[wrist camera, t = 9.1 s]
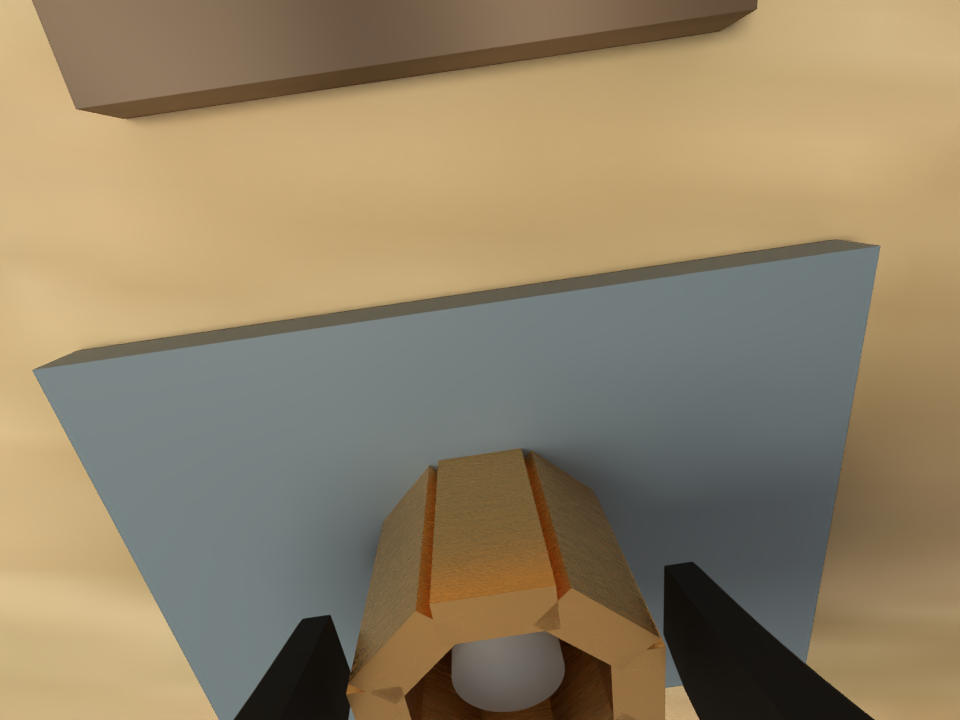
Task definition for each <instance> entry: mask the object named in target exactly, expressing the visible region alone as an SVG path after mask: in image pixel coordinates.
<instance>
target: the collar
mask: <svg viewBox="0 0 960 720" xmlns="http://www.w3.org/2000/svg"><path fill="white" fill-rule="evenodd" d="M542 631H546V632H548V633H550V634H552V635H554V636H556V637H558V638H559V643H560V647H561V651H562V656H563V660H564V665H565V673H564V677H563V680H562V682H561V684H560V686H559V687H558V689H557V690H556V691H555V692H554V693H553V694H552V695H551V696H550V697H548V698H547V699H546V700H544V701H543V702H541V703H539V704H537V705H535V706H532V707H530V708H526V709H523V710H518V711H512V712H493V711H487V710H483V709H480V708H477V707H475V706H473V705H471V704H469V703H467V702H466V701H464V700H463V699H462V698H461V697H460V696H459V695H458V693H457V692H456V690H455V689H454V686H453V683H452V647H453V646H454V645H455V644H461V643H468V642H474V641H481V640H488V639H495V638H501V637H508V636H515V635H522V634H528V633H535V632H542ZM665 675H666V646H665V644H664V642H663V640H662V638H661V635H660V633H659V631H658V629H657V627H656V625H655V622H654V620H653V618H652V616H651V614H650V611H649V609H648V607H647V605H646V603H645V601H644V598H643V596H642V594H641V592H640V590H639V588H638V585H637V583H636V581H635V579H634V577H633V574H632V572H631V570H630V568H629V566H628V564H627V561H626V559H625V557H624V555H623V553H622V550H621V548H620V546H619V544H618V542H617V540H616V537H615V535H614V533H613V531H612V529H611V527H610V524H609V522H608V520H607V518H606V516H605V513H604V511H603V509H602V507H601V505H600V503H599V500H598V498H597V497H596V496H595V494H594V492H593V490H592V489H590V488H589V487H587V486H586V485H584V484H583V483H581V482H580V481H578V480H577V479H575V478H573V477H572V476H570V475H569V474H567V473H566V472H564V471H563V470H561V469H560V468H558V467H556V466H555V465H553V464H552V463H550V462H549V461H547V460H546V459H544V458H543V457H541V456H540V455H538V454H536V453H535V452H533V451H532V450H531V451H530V452H529V453H528V455H527V456H526V457H525V458H523V454H522V450H521V448H519V449H512V450H506V451H499V452H492V453H485V454H479V455H472V456H465V457H459V458H452V459H445V460H438V470H436V469H434V468H433V467H431V466H428V467H427V469H426V470H425V471H424V472H423V473H422V475H421V476H420V477H419V478H418V480H417V481H416V482H415V483H414V484H413V486H412V487H411V488H410V489H409V490H408V492H407V493H406V494H405V495H404V497H403V498H402V499H401V500H400V501H399V503H398V504H397V505H396V506H395V508H394V509H393V510H392V511H391V512H390V514H389V515H388V516H387V517H386V518H385V520H384V521H383V525H382V529H381V534H380V539H379V543H378V548H377V553H376V557H375V562H374V566H373V571H372V576H371V580H370V585H369V590H368V594H367V599H366V604H365V608H364V613H363V618H362V622H361V627H360V632H359V636H358V641H357V646H356V650H355V655H354V660H353V664H352V669H351V674H350V678H349V683H348V688H347V692H346V696H347V698H348V701H349V704H350V707H351V709H352V712H353V715H354V717H355V720H665Z"/></svg>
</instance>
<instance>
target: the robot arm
mask: <svg viewBox="0 0 960 720" xmlns="http://www.w3.org/2000/svg"><path fill="white" fill-rule="evenodd" d="M663 634H664V637H665V640H666V642H667V645H668V648H669V650H670V653H671V656H672V658H673V661H674V664H675V666H676V669H677V671H678V674H679V676H680V679H681V681H682V684H683V686H684V689H685V691H686V693H687V695H688V697H689V699H690V701H691V703H692V705H693V707H694V709H695V711H696V713H697V715H698V717H699V719H700V720H874V719H873V718H872V717H870V716H869V715H868V714H867V713H865V712H864V711H863V710H861V709H860V708H859V707H858V706H856V705H855V704H854V703H853V702H851V701H850V700H849V699H848V698H847V697H845V696H844V695H843V694H842V693H840V692H839V691H838V690H837V689H835V688H834V687H833V686H832V685H830V684H829V683H828V682H827V681H826V680H824V679H823V678H822V677H821V676H820V675H818V674H817V673H816V672H815V671H814V670H812V669H811V668H810V667H809V666H808V665H806V664H805V663H804V662H803V661H802V660H801V659H799V658H798V657H797V656H796V655H795V654H794V653H793V652H791V651H790V650H789V649H788V648H787V647H786V646H785V645H783V644H782V643H781V642H780V641H779V640H778V639H776V638H775V637H774V636H773V635H772V634H771V633H770V632H768V631H767V630H766V629H765V628H764V627H763V626H762V625H761V624H760V623H758V622H757V621H756V620H755V619H754V618H753V617H752V616H751V615H750V614H749V613H748V612H746V611H745V610H744V609H743V608H742V607H741V606H740V605H739V604H738V603H737V602H736V601H735V600H733V599H732V598H731V597H730V596H729V595H728V594H727V593H726V592H725V591H724V590H723V589H722V588H721V587H720V586H719V585H718V584H717V583H715V582H714V581H713V580H712V579H711V578H710V577H709V576H708V575H707V574H706V573H705V572H704V571H703V570H702V569H701V568H700V567H699V566H698V565H696V564H695V563H694V562H686V563H679V564H672V565H666V566H664V618H663ZM350 674H351V671H350V668H349V666H348V663H347V660H346V657H345V654H344V651H343V648H342V646H341V643H340V640H339V637H338V634H337V631H336V628H335V626H334V623H333V620H332V617H331V615H324V616H317V617H310V618H304V619H302V620H301V621H300V622H299V624H298V625H297V627H296V628H295V630H294V631H293V633H292V634H291V636H290V637H289V639H288V640H287V642H286V643H285V645H284V646H283V648H282V649H281V651H280V652H279V654H278V655H277V657H276V658H275V660H274V661H273V663H272V664H271V666H270V667H269V669H268V670H267V672H266V673H265V675H264V676H263V678H262V679H261V681H260V682H259V684H258V685H257V687H256V688H255V689H254V691H253V692H252V694H251V695H250V697H249V698H248V700H247V701H246V702H245V704H244V705H243V707H242V708H241V710H240V711H239V712H238V714H237V715H236V717H235V718H234V720H349V713H350V704H349V701H348V698H347V696H346V692H347V688H348V683H349V678H350Z"/></svg>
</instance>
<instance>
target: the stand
mask: <svg viewBox="0 0 960 720" xmlns="http://www.w3.org/2000/svg"><path fill="white" fill-rule="evenodd" d="M32 2H33V4H34V7H35V9H36V11H37V14H38V16H39V19H40V21H41V24H42V26H43V29H44V31H45V34H46V36H47V39H48V41H49V44H50V46H51V48H52V51H53V53H54V56H55V58H56V61H57V63H58V66H59V68H60V71H61V73H62V76H63V78H64V81H65V83H66V85H67V88H68V90H69V93H70V95H71V98H72V100H73V103H74V105H75V108H76V109H78V110H83V111H88V112H93V113H98V114H102V115H107V116H112V117H117V118H122V119H125V118H132V117H138V116H145V115H152V114H159V113H166V112H172V111H179V110H186V109H193V108H200V107H206V106H213V105H220V104H227V103H234V102H240V101H247V100H254V99H261V98H268V97H275V96H281V95H288V94H295V93H302V92H309V91H315V90H322V89H329V88H336V87H343V86H349V85H356V84H363V83H370V82H377V81H383V80H390V79H397V78H404V77H411V76H418V75H424V74H431V73H438V72H445V71H452V70H458V69H465V68H472V67H479V66H486V65H492V64H499V63H506V62H513V61H520V60H526V59H533V58H540V57H547V56H554V55H560V54H567V53H574V52H581V51H588V50H595V49H601V48H608V47H615V46H622V45H629V44H635V43H642V42H649V41H656V40H663V39H669V38H676V37H683V36H690V35H697V34H703V33H710V32H717V31H721V30H722V29H724V28H726V27H727V26H729V25H731V24H732V23H734V22H736V21H737V20H739V19H741V18H743V17H744V16H746V15H748V14H749V13H751V12H753V11H754V10H756V9H757V0H32Z"/></svg>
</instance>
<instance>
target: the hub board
mask: <svg viewBox="0 0 960 720" xmlns="http://www.w3.org/2000/svg"><path fill="white" fill-rule="evenodd" d="M879 251H880V246H879V245H871V244H864V243H857V242H849V241H842V240H830V241H823V242H816V243H809V244H802V245H796V246H789V247H782V248H775V249H768V250H762V251H755V252H748V253H741V254H734V255H727V256H721V257H714V258H707V259H700V260H693V261H687V262H680V263H673V264H666V265H659V266H652V267H646V268H639V269H632V270H625V271H618V272H612V273H605V274H598V275H591V276H584V277H577V278H571V279H564V280H557V281H550V282H543V283H537V284H530V285H523V286H516V287H509V288H502V289H496V290H489V291H482V292H475V293H468V294H462V295H455V296H448V297H441V298H434V299H427V300H421V301H414V302H407V303H400V304H393V305H387V306H380V307H373V308H366V309H359V310H352V311H346V312H339V313H332V314H325V315H318V316H312V317H305V318H298V319H291V320H284V321H277V322H271V323H264V324H257V325H250V326H243V327H237V328H230V329H223V330H216V331H209V332H202V333H196V334H189V335H182V336H175V337H168V338H162V339H155V340H148V341H141V342H134V343H127V344H121V345H114V346H107V347H100V348H93V349H87V350H80V351H75V352H73V353H71V354H68V355H66V356H64V357H62V358H59V359H57V360H55V361H52V362H50V363H48V364H45V365H43V366H41V367H38V368H36V369H34V370H32V371H33V373H34V374H35V376H36V378H37V380H38V382H39V384H40V386H41V388H42V389H43V391H44V393H45V395H46V397H47V399H48V401H49V402H50V404H51V406H52V408H53V410H54V412H55V414H56V416H57V417H58V419H59V421H60V423H61V425H62V427H63V429H64V431H65V432H66V434H67V436H68V438H69V440H70V442H71V444H72V446H73V447H74V449H75V451H76V453H77V455H78V457H79V459H80V460H81V462H82V464H83V466H84V468H85V470H86V472H87V474H88V475H89V477H90V479H91V481H92V483H93V485H94V487H95V489H96V490H97V492H98V494H99V496H100V498H101V500H102V502H103V503H104V505H105V507H106V509H107V511H108V513H109V515H110V517H111V518H112V520H113V522H114V524H115V526H116V528H117V530H118V532H119V533H120V535H121V537H122V539H123V541H124V543H125V545H126V547H127V548H128V550H129V552H130V554H131V556H132V558H133V560H134V561H135V563H136V565H137V567H138V569H139V571H140V573H141V575H142V576H143V578H144V580H145V582H146V584H147V586H148V588H149V590H150V591H151V593H152V595H153V597H154V599H155V601H156V603H157V605H158V606H159V608H160V610H161V612H162V614H163V616H164V618H165V619H166V621H167V623H168V625H169V627H170V629H171V631H172V633H173V634H174V636H175V638H176V640H177V642H178V644H179V646H180V648H181V649H182V651H183V653H184V655H185V657H186V659H187V661H188V662H189V664H190V666H191V668H192V670H193V672H194V674H195V676H196V677H197V679H198V681H199V683H200V685H201V687H202V689H203V691H204V692H205V694H206V696H207V698H208V700H209V702H210V704H211V706H212V707H213V709H214V711H215V713H216V715H217V717H218V719H219V720H234V718H235V717H236V715H237V714H238V712H239V711H240V710H241V708H242V707H243V705H244V704H245V702H246V701H247V700H248V698H249V697H250V695H251V694H252V692H253V691H254V689H255V688H256V687H257V685H258V684H259V682H260V681H261V679H262V678H263V676H264V675H265V673H266V672H267V670H268V669H269V667H270V666H271V664H272V663H273V661H274V660H275V658H276V657H277V655H278V654H279V652H280V651H281V649H282V648H283V646H284V645H285V643H286V642H287V640H288V639H289V637H290V636H291V634H292V633H293V631H294V630H295V628H296V627H297V625H298V624H299V622H300V621H301V620H302V619H304V618H310V617H317V616H324V615H331V617H332V620H333V623H334V626H335V628H336V631H337V634H338V637H339V640H340V643H341V646H342V648H343V651H344V654H345V657H346V660H347V663H348V666H349V668H350V671H351V669H352V664H353V660H354V655H355V650H356V646H357V641H358V636H359V632H360V627H361V622H362V618H363V613H364V608H365V604H366V599H367V594H368V590H369V585H370V580H371V576H372V571H373V566H374V562H375V557H376V553H377V548H378V543H379V539H380V534H381V529H382V525H383V521H384V520H385V518H386V517H387V516H388V515H389V514H390V512H391V511H392V510H393V509H394V508H395V506H396V505H397V504H398V503H399V501H400V500H401V499H402V498H403V497H404V495H405V494H406V493H407V492H408V490H409V489H410V488H411V487H412V486H413V484H414V483H415V482H416V481H417V480H418V478H419V477H420V476H421V475H422V473H423V472H424V471H425V470H426V469H427V467H428V466H431V467H433V468H434V469H436V470H438V460H445V459H452V458H459V457H465V456H472V455H479V454H485V453H492V452H499V451H506V450H512V449H519V448H521V450H522V454H523V458H525V457H526V456H527V455H528V453H529V452H530V451H531V450H532V451H533V452H535V453H536V454H538V455H540V456H541V457H543V458H544V459H546V460H547V461H549V462H550V463H552V464H553V465H555V466H556V467H558V468H560V469H561V470H563V471H564V472H566V473H567V474H569V475H570V476H572V477H573V478H575V479H577V480H578V481H580V482H581V483H583V484H584V485H586V486H587V487H589V488H590V489H592V490H593V492H594V494H595V496H596V497H597V498H598V500H599V503H600V505H601V507H602V509H603V511H604V513H605V516H606V518H607V520H608V522H609V524H610V527H611V529H612V531H613V533H614V535H615V537H616V540H617V542H618V544H619V546H620V548H621V550H622V553H623V555H624V557H625V559H626V561H627V564H628V566H629V568H630V570H631V572H632V574H633V577H634V579H635V581H636V583H637V585H638V588H639V590H640V592H641V594H642V596H643V598H644V601H645V603H646V605H647V607H648V609H649V611H650V614H651V616H652V618H653V620H654V622H655V625H656V627H657V629H658V631H659V633H660V635H661V638H662V640H663V642H664V644H665V646H666V675H665V688H668V687H674V686H681V685H683V684H682V681H681V679H680V676H679V674H678V671H677V669H676V666H675V664H674V661H673V658H672V656H671V653H670V650H669V648H668V645H667V642H666V640H665V637H664V634H663V618H664V566H666V565H672V564H679V563H686V562H694V563H695V564H696V565H698V566H699V567H700V568H701V569H702V570H703V571H704V572H705V573H706V574H707V575H708V576H709V577H710V578H711V579H712V580H713V581H714V582H715V583H717V584H718V585H719V586H720V587H721V588H722V589H723V590H724V591H725V592H726V593H727V594H728V595H729V596H730V597H731V598H732V599H733V600H735V601H736V602H737V603H738V604H739V605H740V606H741V607H742V608H743V609H744V610H745V611H746V612H748V613H749V614H750V615H751V616H752V617H753V618H754V619H755V620H756V621H757V622H758V623H760V624H761V625H762V626H763V627H764V628H765V629H766V630H767V631H768V632H770V633H771V634H772V635H773V636H774V637H775V638H776V639H778V640H779V641H780V642H781V643H782V644H783V645H785V646H786V647H787V648H788V649H789V650H790V651H791V652H793V653H794V654H795V655H796V656H797V657H798V658H799V659H801V660H802V661H803V662H804V663H805V664H806V660H807V655H808V649H809V643H810V638H811V632H812V627H813V621H814V615H815V610H816V604H817V599H818V593H819V587H820V582H821V576H822V571H823V565H824V559H825V554H826V548H827V543H828V537H829V531H830V526H831V520H832V515H833V509H834V503H835V498H836V492H837V487H838V481H839V475H840V470H841V464H842V459H843V453H844V447H845V442H846V436H847V431H848V425H849V419H850V414H851V408H852V403H853V397H854V391H855V386H856V380H857V375H858V369H859V363H860V358H861V352H862V346H863V341H864V335H865V330H866V324H867V318H868V313H869V307H870V302H871V296H872V290H873V285H874V279H875V274H876V268H877V262H878V257H879ZM564 673H565V665H564V660H563V656H562V651H561V647H560V643H559V638H558V637H556V636H554V635H552V634H550V633H548V632H546V631H542V632H535V633H528V634H522V635H515V636H508V637H501V638H495V639H488V640H481V641H474V642H468V643H461V644H455V645H454V646H453V647H452V683H453V686H454V689H455V690H456V692H457V693H458V695H459V696H460V697H461V698H462V699H463V700H464V701H466V702H467V703H469V704H471V705H473V706H475V707H477V708H480V709H483V710H487V711H493V712H512V711H518V710H523V709H526V708H530V707H532V706H535V705H537V704H539V703H541V702H543V701H544V700H546V699H547V698H548V697H550V696H551V695H552V694H553V693H554V692H555V691H556V690H557V689H558V687H559V686H560V684H561V682H562V680H563V677H564ZM349 720H355V717H354V715H353V712H352V709H351V707H350V713H349Z"/></svg>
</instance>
